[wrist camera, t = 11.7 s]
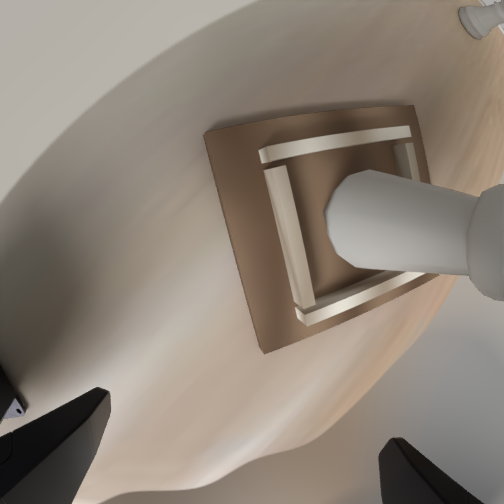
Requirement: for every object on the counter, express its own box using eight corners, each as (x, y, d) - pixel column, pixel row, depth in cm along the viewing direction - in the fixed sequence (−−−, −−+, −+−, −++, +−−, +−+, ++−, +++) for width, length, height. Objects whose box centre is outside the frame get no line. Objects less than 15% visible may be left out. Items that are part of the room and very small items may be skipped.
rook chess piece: (482, 45, 23) (531, 32, 15) (462, 32, 22) (514, 14, 14) (473, 16, 22) (519, 1, 14) (452, 2, 21) (500, -18, 13)
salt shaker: (322, 273, 20) (494, 361, 7) (298, 185, 18) (497, 183, 6) (390, 243, 21) (554, 287, 8) (373, 163, 19) (552, 155, 7)
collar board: (259, 347, 21) (271, 365, 18) (203, 135, 17) (209, 126, 15) (431, 272, 24) (451, 279, 22) (405, 107, 21) (426, 101, 18)
